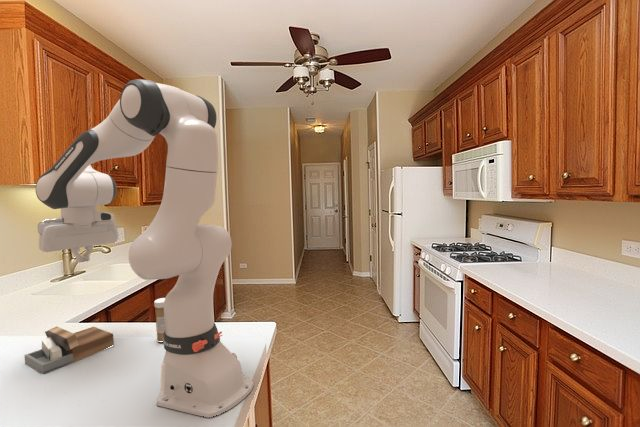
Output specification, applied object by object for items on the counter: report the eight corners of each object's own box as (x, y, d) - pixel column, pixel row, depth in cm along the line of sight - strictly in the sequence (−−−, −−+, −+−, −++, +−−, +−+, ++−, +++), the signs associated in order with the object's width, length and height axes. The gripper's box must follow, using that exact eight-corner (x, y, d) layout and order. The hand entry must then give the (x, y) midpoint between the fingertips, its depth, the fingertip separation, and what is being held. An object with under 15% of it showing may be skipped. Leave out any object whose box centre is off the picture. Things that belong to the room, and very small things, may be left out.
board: (113, 346, 104) (112, 333, 103) (73, 362, 94) (72, 348, 94) (94, 338, 110) (93, 326, 110) (54, 352, 100) (53, 340, 100)
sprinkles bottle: (160, 337, 109) (157, 297, 108) (174, 336, 109) (172, 296, 108) (154, 344, 104) (151, 302, 103) (169, 343, 105) (166, 301, 104)
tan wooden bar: (79, 344, 96) (75, 334, 95) (67, 351, 93) (63, 340, 92) (60, 336, 102) (56, 326, 101) (48, 342, 99) (44, 331, 98)
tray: (73, 362, 94) (72, 353, 94) (43, 374, 88) (42, 365, 88) (54, 352, 100) (53, 344, 100) (25, 363, 94) (24, 355, 94)
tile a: (61, 349, 92) (52, 352, 91) (62, 363, 93) (53, 366, 91) (58, 345, 95) (49, 348, 94) (59, 358, 95) (50, 361, 94)
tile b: (56, 345, 96) (48, 349, 94) (56, 354, 97) (48, 358, 96) (50, 336, 97) (41, 340, 95) (50, 345, 99) (41, 349, 97)
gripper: (41, 219, 90) (46, 270, 91) (119, 214, 107) (122, 256, 108) (32, 219, 93) (36, 267, 94) (109, 214, 111) (111, 254, 112)
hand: (83, 261), depth 101 cm, fingers closed
